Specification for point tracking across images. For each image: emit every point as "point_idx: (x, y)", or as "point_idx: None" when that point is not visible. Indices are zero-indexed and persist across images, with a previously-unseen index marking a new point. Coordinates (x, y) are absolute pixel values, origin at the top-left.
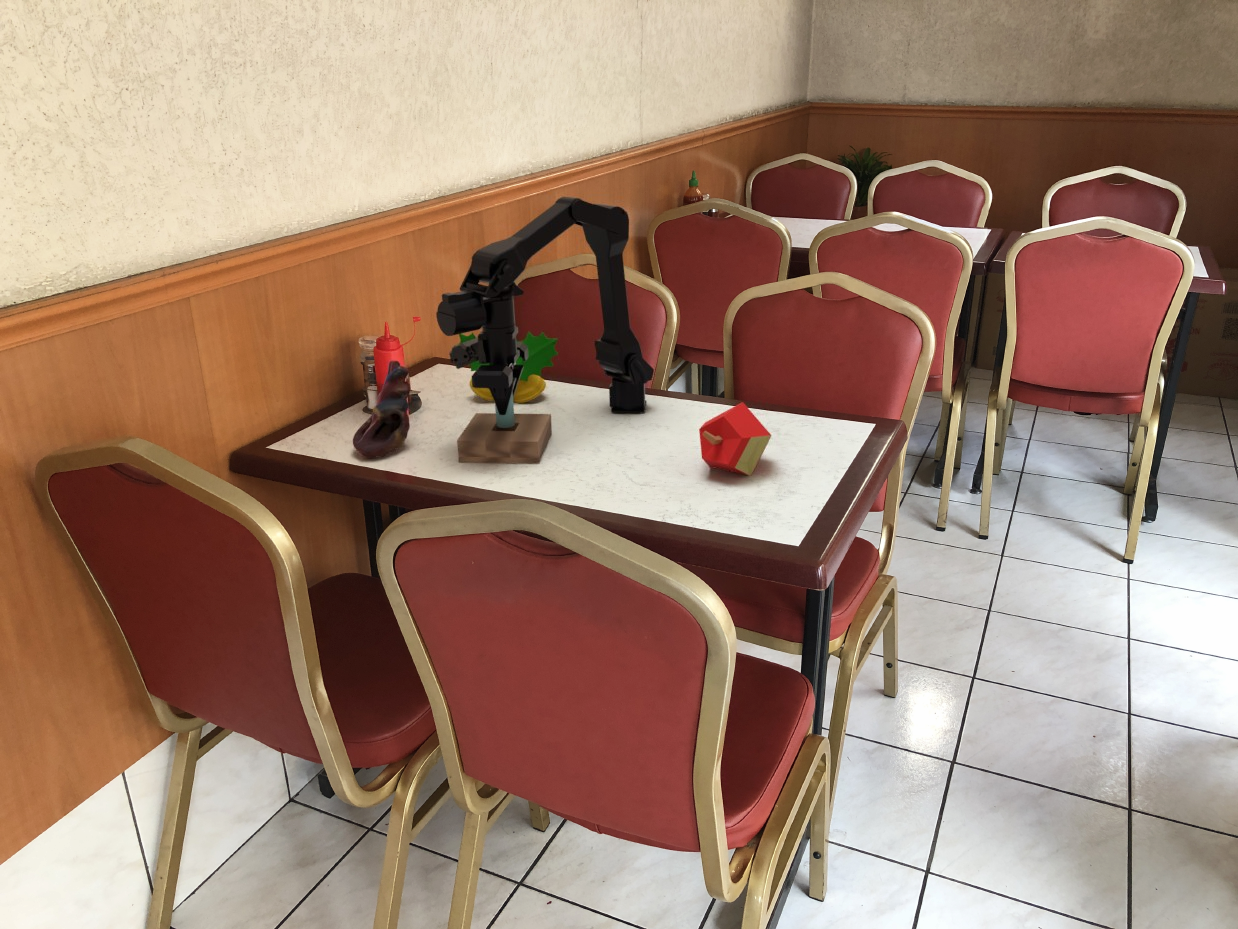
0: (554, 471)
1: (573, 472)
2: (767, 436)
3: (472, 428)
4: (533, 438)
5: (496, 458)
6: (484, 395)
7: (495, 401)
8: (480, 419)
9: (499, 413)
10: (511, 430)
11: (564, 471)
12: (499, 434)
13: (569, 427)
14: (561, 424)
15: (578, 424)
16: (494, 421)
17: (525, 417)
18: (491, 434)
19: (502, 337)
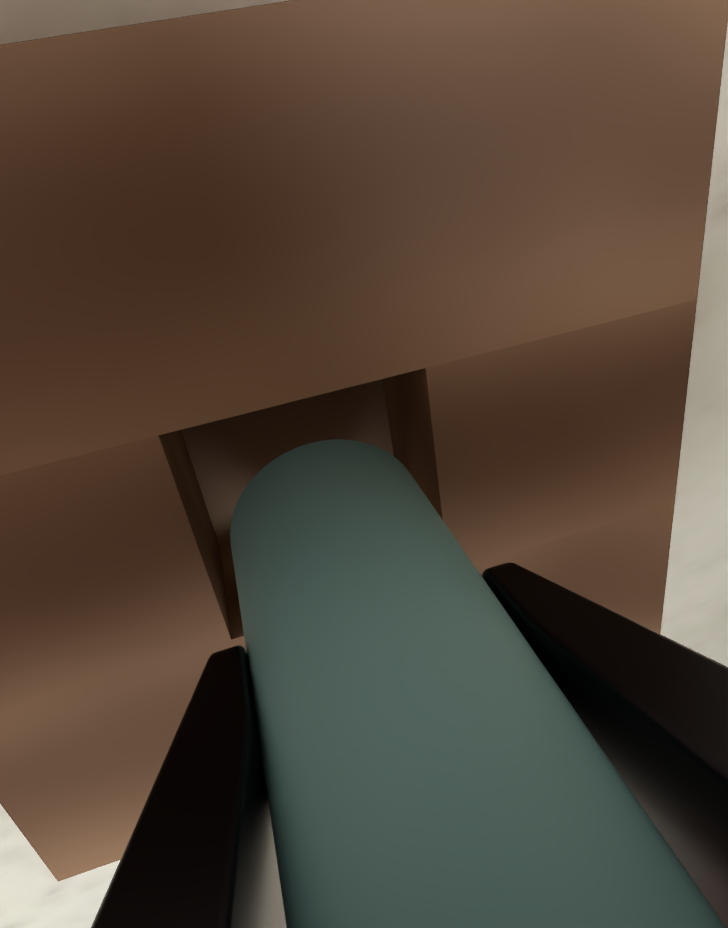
0: (5, 836)
1: (42, 900)
2: None
3: (155, 152)
4: (113, 830)
5: None
6: None
7: (113, 894)
8: (505, 119)
9: (204, 672)
10: (413, 468)
11: (32, 868)
12: (85, 564)
13: (674, 600)
14: (722, 544)
15: (713, 618)
16: (458, 330)
17: (584, 552)
18: (47, 490)
19: None
